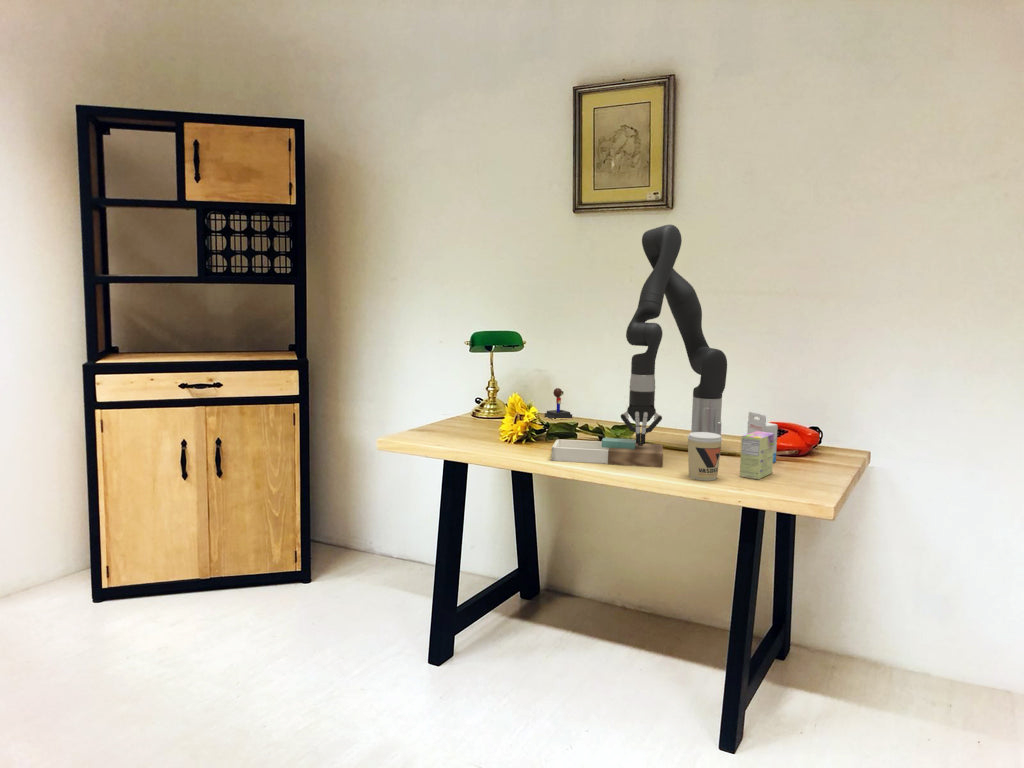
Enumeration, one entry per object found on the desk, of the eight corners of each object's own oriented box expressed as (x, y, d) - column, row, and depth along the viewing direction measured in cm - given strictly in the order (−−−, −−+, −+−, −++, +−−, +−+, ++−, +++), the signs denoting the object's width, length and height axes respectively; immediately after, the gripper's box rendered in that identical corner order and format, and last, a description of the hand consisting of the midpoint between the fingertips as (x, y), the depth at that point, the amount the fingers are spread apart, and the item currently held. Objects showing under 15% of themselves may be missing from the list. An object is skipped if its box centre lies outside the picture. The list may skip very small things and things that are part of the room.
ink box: (776, 462, 232) (779, 414, 230) (763, 463, 230) (766, 415, 228) (758, 456, 240) (760, 410, 238) (745, 457, 238) (747, 411, 236)
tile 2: (635, 445, 234) (635, 439, 234) (634, 449, 229) (635, 442, 229) (619, 444, 235) (619, 438, 235) (618, 448, 230) (618, 441, 230)
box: (753, 470, 222) (755, 430, 221) (772, 473, 219) (774, 433, 217) (738, 476, 214) (740, 435, 213) (758, 480, 211) (760, 438, 209)
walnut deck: (661, 456, 238) (662, 444, 237) (662, 467, 224) (663, 453, 223) (610, 454, 240) (610, 441, 240) (607, 464, 227) (608, 450, 226)
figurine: (572, 418, 304) (573, 388, 302) (554, 420, 300) (555, 389, 298) (562, 415, 310) (562, 386, 309) (544, 417, 306) (545, 387, 305)
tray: (610, 454, 240) (610, 441, 239) (607, 463, 227) (608, 450, 227) (556, 451, 243) (556, 439, 242) (551, 460, 230) (551, 447, 230)
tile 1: (619, 444, 235) (619, 438, 235) (618, 448, 230) (618, 441, 230) (602, 444, 236) (603, 437, 236) (601, 447, 231) (601, 440, 231)
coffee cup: (696, 482, 207) (698, 438, 206) (679, 473, 216) (681, 432, 215) (726, 480, 210) (728, 437, 208) (709, 472, 219) (711, 431, 217)
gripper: (664, 388, 231) (662, 444, 234) (620, 386, 234) (618, 441, 236) (665, 391, 224) (662, 449, 226) (619, 389, 226) (617, 446, 229)
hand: (640, 445), depth 231 cm, fingers closed
